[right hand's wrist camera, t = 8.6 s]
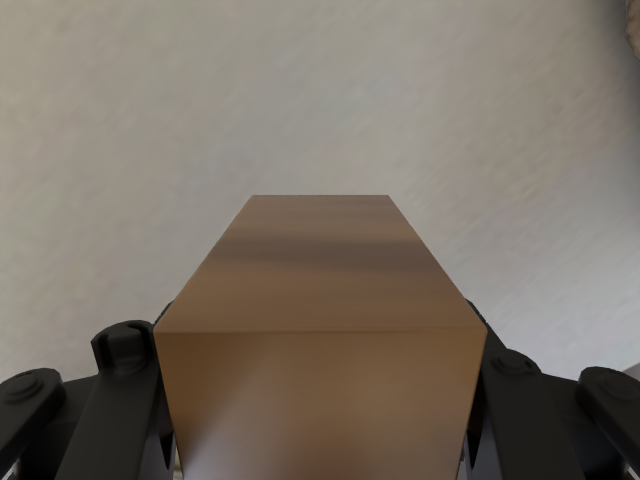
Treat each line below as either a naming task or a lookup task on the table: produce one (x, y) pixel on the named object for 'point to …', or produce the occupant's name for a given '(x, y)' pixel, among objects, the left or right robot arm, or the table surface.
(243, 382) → the bar
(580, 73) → the table surface
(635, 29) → the stone
